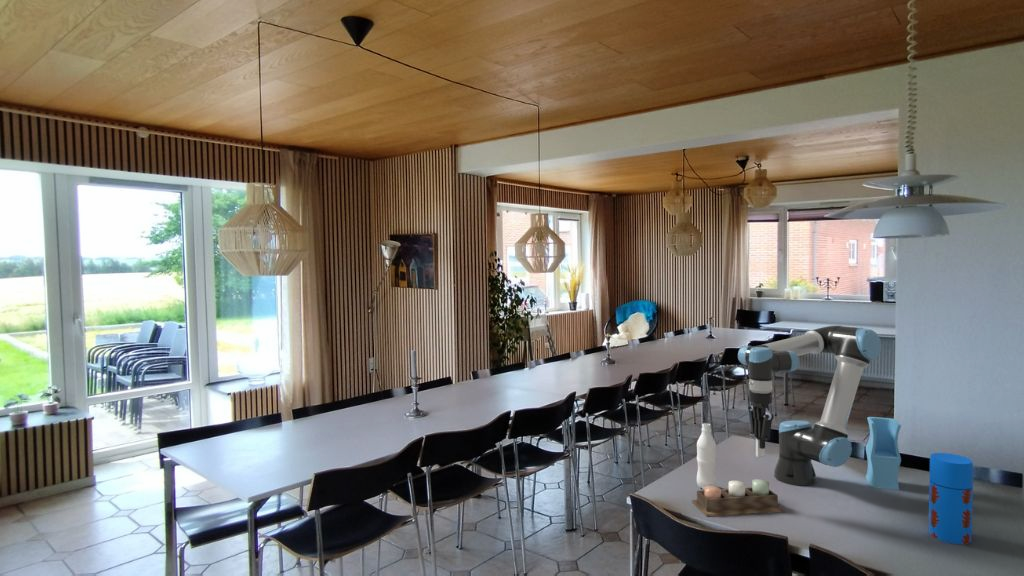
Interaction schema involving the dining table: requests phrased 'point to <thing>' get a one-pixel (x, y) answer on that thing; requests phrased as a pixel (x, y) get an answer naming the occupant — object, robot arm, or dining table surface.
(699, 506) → the brown wooden holder
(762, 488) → the pale green rounded block
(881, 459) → the vase
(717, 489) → the pink rounded block
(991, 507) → the dining table surface
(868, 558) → the dining table surface
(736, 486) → the cream key
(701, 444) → the water bottle
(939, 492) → the thermos
